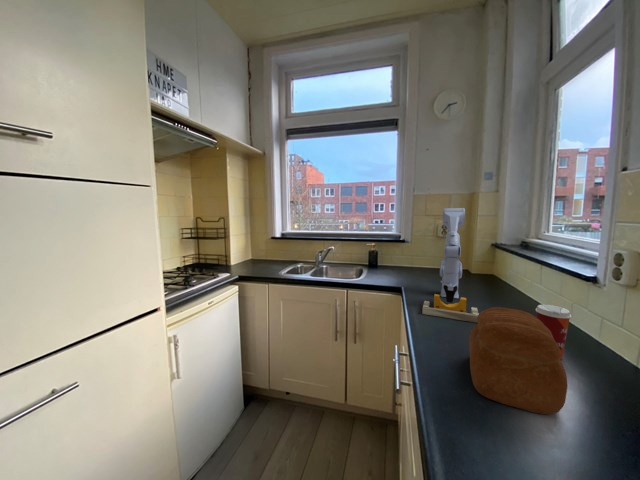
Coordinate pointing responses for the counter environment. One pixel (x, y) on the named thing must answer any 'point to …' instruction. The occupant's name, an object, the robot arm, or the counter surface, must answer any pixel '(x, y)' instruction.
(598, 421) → the counter surface
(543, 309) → the paper cup
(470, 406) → the counter surface
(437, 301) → the pipe clamp
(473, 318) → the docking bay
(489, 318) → the bread
